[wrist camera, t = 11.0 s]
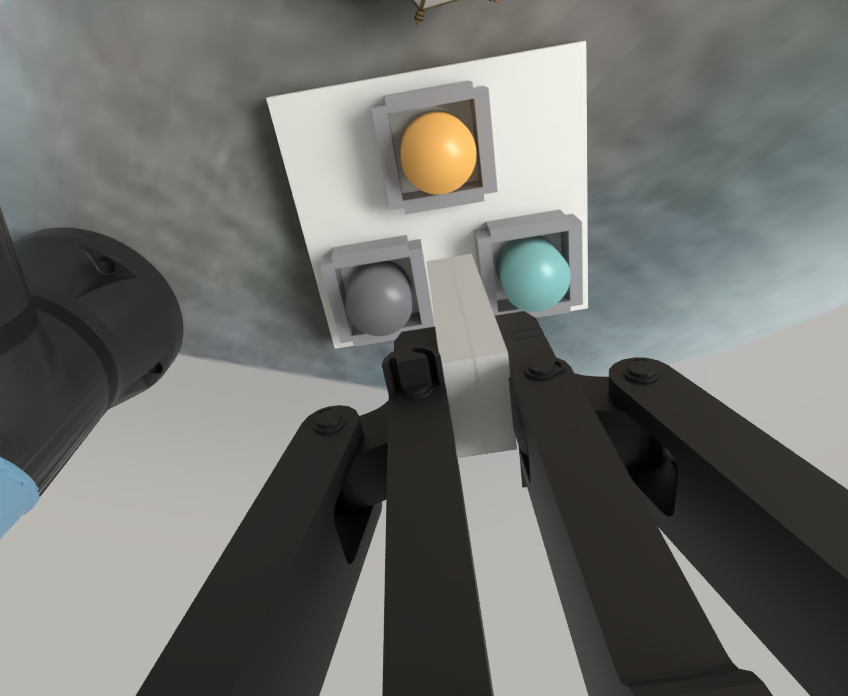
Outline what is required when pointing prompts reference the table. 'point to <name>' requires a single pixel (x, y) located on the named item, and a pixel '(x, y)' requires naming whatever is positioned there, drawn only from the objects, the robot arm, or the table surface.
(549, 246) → the teal button
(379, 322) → the charcoal button
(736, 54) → the table surface
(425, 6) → the grey spiky polyhedron
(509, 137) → the panel
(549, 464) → the robot arm
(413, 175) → the orange button
